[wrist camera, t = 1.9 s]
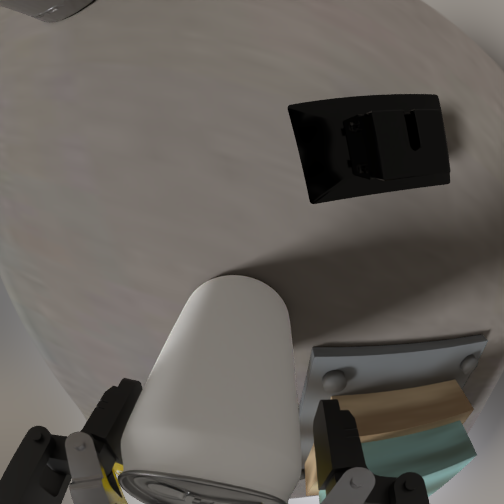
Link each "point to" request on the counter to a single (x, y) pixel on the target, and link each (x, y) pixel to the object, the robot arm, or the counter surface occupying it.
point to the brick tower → (396, 406)
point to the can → (219, 404)
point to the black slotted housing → (370, 144)
